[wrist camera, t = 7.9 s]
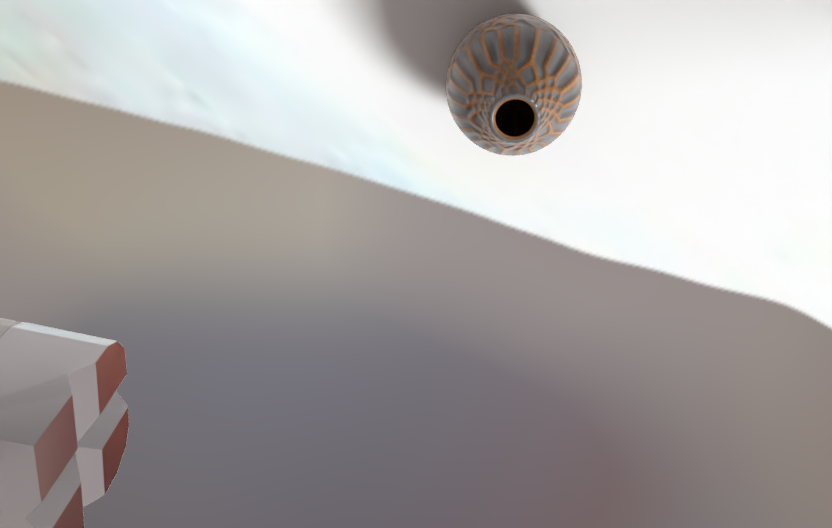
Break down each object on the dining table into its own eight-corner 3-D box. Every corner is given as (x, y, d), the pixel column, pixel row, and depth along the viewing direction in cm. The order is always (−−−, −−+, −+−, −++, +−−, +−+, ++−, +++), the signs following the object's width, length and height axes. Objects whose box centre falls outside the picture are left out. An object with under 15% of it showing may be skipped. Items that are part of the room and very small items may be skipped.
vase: (432, 27, 43) (418, 73, 35) (555, -18, 41) (568, 20, 33) (472, 140, 46) (467, 205, 38) (589, 103, 44) (608, 163, 36)
